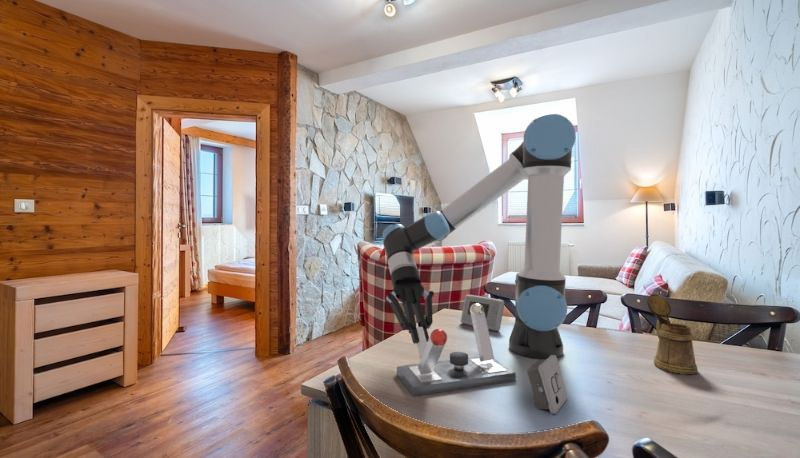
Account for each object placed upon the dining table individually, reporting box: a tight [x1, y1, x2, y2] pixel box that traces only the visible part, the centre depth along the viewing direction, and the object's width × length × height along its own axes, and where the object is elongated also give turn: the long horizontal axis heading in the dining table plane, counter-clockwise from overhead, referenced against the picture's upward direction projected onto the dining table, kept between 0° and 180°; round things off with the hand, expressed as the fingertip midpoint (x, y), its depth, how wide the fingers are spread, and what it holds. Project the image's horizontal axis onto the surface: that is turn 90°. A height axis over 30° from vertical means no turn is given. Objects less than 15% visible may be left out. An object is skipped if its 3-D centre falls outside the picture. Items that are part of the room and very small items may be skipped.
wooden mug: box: [646, 292, 699, 375], centre depth 99 cm, size 9×14×18 cm, turn 0°
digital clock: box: [460, 294, 505, 332], centre depth 135 cm, size 16×9×11 cm, turn 34°
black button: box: [449, 351, 469, 366], centre depth 91 cm, size 4×4×2 cm
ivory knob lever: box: [470, 303, 495, 362], centre depth 96 cm, size 4×4×14 cm
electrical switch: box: [526, 355, 568, 415], centre depth 78 cm, size 9×5×9 cm, turn 141°
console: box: [396, 356, 517, 397], centre depth 90 cm, size 26×12×4 cm, turn 108°
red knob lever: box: [418, 328, 448, 375], centre depth 83 cm, size 4×4×14 cm
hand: (424, 355), depth 86 cm, fingers closed
